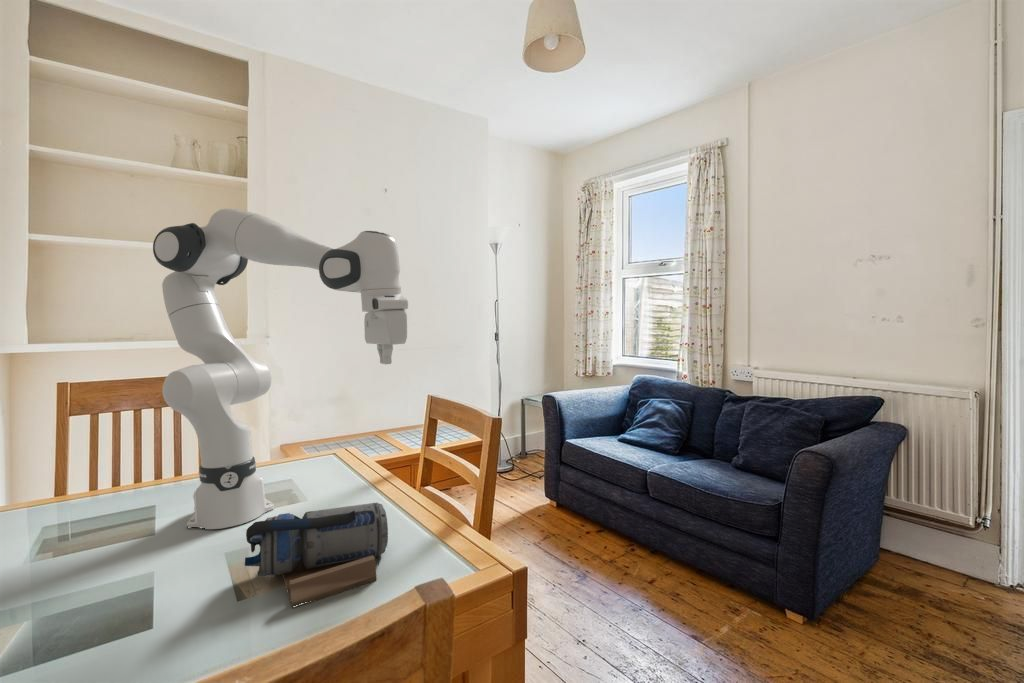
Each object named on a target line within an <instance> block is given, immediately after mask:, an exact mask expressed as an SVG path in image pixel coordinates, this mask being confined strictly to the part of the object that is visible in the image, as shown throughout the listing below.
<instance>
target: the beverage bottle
mask: <svg viewBox="0 0 1024 683" xmlns="http://www.w3.org/2000/svg"><path fill="white" fill-rule="evenodd" d="M388 525H389V524H388V517H387V512H386V510H385V508H384V505H383V504H382V503H379V502H371V503H363V504H357V505H356V504H355V505H349V506H348V505H347V506H342V507H335V508H333V507H332V508H327V509H326V508H325V509H320V510H312V511H305V513H304V514H303V516H302V518H301V517H298V516H297V515H295V514H293V513H290V512H288V513H287V512H286V513H279V514H278V515H275V516H272V517H271V516H270V517H267V518H266V519H265V520H260V521H255V522H253V523H252V524H251V525H250V526H249V527H248V528H247V529H246V533H245V537H246V542H247V543H248V544H249V545H250V551H251V553H252V554H253V553H254V552H255V551H256V546H259V552H258V554H257V555H254V556H249V557H245V558H244V566H245V567H258V570H257V577H267V576H275V575H276V576H277V575H280V574H282V573H288V572H292V571H293V570H295V569H296V568H297V567H298V566H300V563H303V566H304V567H305V568H306V569H310V568H316V567H321V566H327V565H332V564H338V563H343V562H349V561H354V560H359V559H362V558H366V557H369V556H372V555H373V556H374V558H376V557H380V556H382V555H383V554H384V553H386V549H387V548H388V541H389V536H388V535H389V529H388V528H389V527H388Z"/></svg>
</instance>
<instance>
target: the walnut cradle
mask: <svg viewBox="0 0 1024 683" xmlns="http://www.w3.org/2000/svg"><path fill="white" fill-rule="evenodd" d="M282 579H283V582H284V585H285V589H286V588H287V589H286V591H287V590H288V592H287V595H288V594H289V595H288V598H289V597H290V599H289V601H290V600H291V602H290V604H292V606H291V608H292V607H293V606H296V605H299V604H301V603H305V602H310V601H313V602H315V601H314V600H316V601H318V599H319V600H321V599H324V598H328V597H330V596H334V595H336V594H339V593H342V592H344V591H348V590H352V589H354V588H357V587H360V586H363V585H366V584H369V583H373V582H376V581H377V580H378V579H377V567H376V557H374V556H373V555H372V556H369V557H366V558H362V559H359V560H354V561H349V562H343V563H338V564H332V565H327V566H321V567H316V568H310V569H306V568H305V567H304V566H303V563H300V566H298V567H297V568H296V569H295V570H293V571H292V572H288V573H282ZM310 603H311V602H310Z"/></svg>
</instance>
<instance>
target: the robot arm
mask: <svg viewBox="0 0 1024 683" xmlns="http://www.w3.org/2000/svg"><path fill="white" fill-rule="evenodd" d="M152 253H153V257H154V258H155V260H156V262H157V263H159V265H161V266H162V267H164V268H165V269H168V270H170V271H173V272H171V273H169V274H167V275H166V276H165V277H164V278H163V281H162V284H161V285H162V286H161V288H162V295H163V301H164V306H165V309H166V313H167V316H168V319H169V322H170V324H171V328H172V330H173V332H174V336H175V338H176V341H177V344H178V346H179V347H180V348H181V349H182V350H183V351H184V352H186V353H189V354H191V355H193V356H195V357H197V358H198V359H200V360H201V361H202V362H203V363H202V364H201V363H200V364H193V365H188V366H186V367H183V368H179V369H177V370H174V371H171V372H170V373H169V374H168V375H167V376H166V377H165V379H164V381H163V383H162V396H163V400H164V402H165V403H166V404H167V405H168V406H169V408H171V409H172V410H174V411H175V412H177V413H179V414H181V415H182V416H184V417H185V418H186V419H187V420H188V422H189V423H190V424H191V425H192V427H193V429H194V431H195V434H196V437H197V440H198V448H199V456H200V466H199V471H198V474H199V481H200V482H201V483H200V484H199V485H198V487H197V488H196V490H195V491H194V492H193V495H192V496H193V502H194V506H193V507H194V513H193V514H192V516H191V517H190V518H189V520H188V521H187V522H186V526H188V527H202V528H205V529H204V530H218V529H227V528H231V527H235V526H239V525H243V524H245V523H248V522H251V521H253V520H255V519H257V518H259V517H261V516H262V515H264V514H265V513H267V512H269V511H271V510H273V509H274V508H275V504H274V503H273V502H271V501H270V500H269V499H267V497H266V493H265V486H264V479H263V478H262V477H261V476H259V475H258V474H257V473H256V471H257V468H256V465H257V462H256V458H255V457H254V454H253V442H252V431H251V428H250V427H249V425H248V424H246V423H244V422H243V421H241V420H237V419H236V418H235V417H234V415H233V413H232V411H231V405H232V406H233V405H236V404H241V403H242V404H243V403H247V402H250V401H253V400H255V399H257V398H259V397H261V396H263V395H265V394H266V393H268V391H269V389H270V388H271V386H272V385H271V384H272V374H271V371H270V368H268V366H267V365H266V364H265V363H264V362H262V361H260V360H258V359H256V358H254V357H253V356H251V355H250V354H249V353H248V352H247V351H245V350H244V348H243V347H242V346H241V345H240V344H239V343H238V341H236V339H235V338H234V337H233V336H234V335H233V334H232V333H231V331H230V329H229V326H228V325H227V322H226V320H225V317H224V314H223V312H222V310H221V307H220V304H219V302H218V300H217V297H216V293H215V286H216V285H219V286H225V285H227V284H228V283H229V282H230V281H231V280H232V279H235V278H237V277H238V276H240V275H241V274H242V273H243V272H244V271H245V270H246V268H247V266H248V263H249V261H252V262H256V263H260V264H265V265H273V266H284V267H285V266H286V267H287V266H288V267H304V268H309V269H312V270H317V271H318V273H319V278H320V280H321V282H322V283H323V285H325V286H326V287H327V288H329V289H332V290H334V291H338V292H339V291H340V292H347V293H349V292H350V293H359V294H360V299H361V312H365V314H364V321H363V322H364V324H363V325H364V328H363V329H364V339H365V340H364V341H365V344H371V345H376V349H377V352H378V355H379V363H380V365H381V364H382V365H392V354H393V351H394V345H404V344H406V342H407V338H408V316H407V315H408V314H407V311H406V310H408V309H409V301H408V299H407V298H406V297H404V296H403V294H402V287H401V284H400V280H399V279H400V278H399V276H400V270H401V269H400V268H401V267H400V256H399V250H398V246H397V242H396V240H395V238H394V237H393V236H392V235H390V234H389V233H388V234H387V233H384V232H379V231H376V230H364V231H361V232H360V233H359V234H358V235H357V236H356V237H355V238H354V239H353V240H351V241H350V242H347V243H346V244H345V245H342V246H340V247H339V246H338V247H337V248H331V247H329V246H326V245H323V244H320V243H318V242H317V241H316V242H315V241H313V239H310V238H308V237H305V236H304V235H302V234H300V233H298V232H296V231H294V230H293V229H291V228H289V227H287V226H285V225H283V224H281V223H280V222H277V221H275V220H273V219H271V218H269V217H266V216H264V215H261V214H259V213H258V214H257V213H255V212H252V211H248V210H247V211H246V210H242V209H236V208H221V209H218V210H216V211H215V212H214V213H212V215H211V217H210V218H209V220H208V223H207V224H206V225H205V226H199V225H198V224H196V223H194V222H191V223H185V224H183V225H173V226H168V227H164V228H163V229H162V230H160V231H159V232H158V233H157V234H156V236H155V237H154V240H153V242H152ZM202 528H201V529H202Z"/></svg>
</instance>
